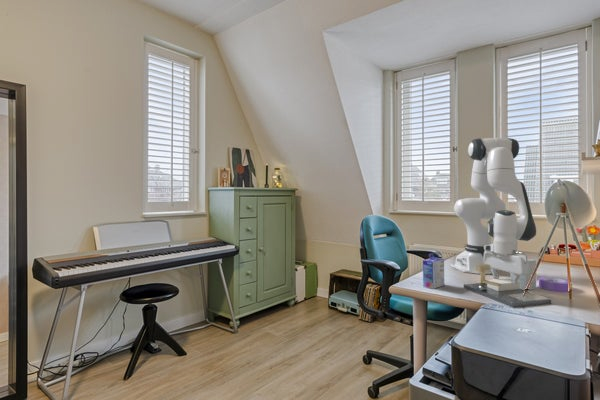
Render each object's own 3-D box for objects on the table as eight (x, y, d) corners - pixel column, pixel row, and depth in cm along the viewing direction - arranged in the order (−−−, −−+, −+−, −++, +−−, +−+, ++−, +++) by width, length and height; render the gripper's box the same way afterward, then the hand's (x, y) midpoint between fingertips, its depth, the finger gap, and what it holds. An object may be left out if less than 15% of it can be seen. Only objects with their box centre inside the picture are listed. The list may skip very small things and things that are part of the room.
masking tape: (535, 288, 153) (536, 279, 153) (541, 283, 161) (541, 275, 161) (568, 294, 144) (569, 285, 144) (573, 288, 153) (573, 280, 152)
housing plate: (463, 287, 153) (463, 281, 153) (498, 284, 157) (498, 278, 157) (512, 307, 128) (512, 299, 128) (552, 303, 132) (552, 295, 132)
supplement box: (536, 288, 152) (537, 260, 151) (526, 290, 148) (526, 261, 148) (519, 284, 158) (520, 257, 158) (509, 286, 155) (510, 258, 155)
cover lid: (487, 287, 149) (487, 280, 149) (508, 285, 151) (508, 278, 151) (498, 291, 143) (498, 283, 143) (519, 289, 146) (520, 282, 146)
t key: (485, 284, 147) (486, 263, 147) (504, 288, 140) (504, 267, 140) (475, 286, 144) (475, 265, 143) (494, 291, 137) (494, 269, 136)
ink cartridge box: (433, 282, 161) (433, 252, 161) (444, 285, 157) (445, 253, 157) (422, 286, 155) (422, 254, 155) (433, 289, 151) (433, 256, 150)
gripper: (533, 252, 137) (533, 287, 137) (492, 245, 157) (492, 275, 157) (520, 253, 135) (520, 288, 136) (481, 245, 155) (480, 276, 155)
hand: (504, 281), depth 146 cm, fingers open, 8 cm apart
